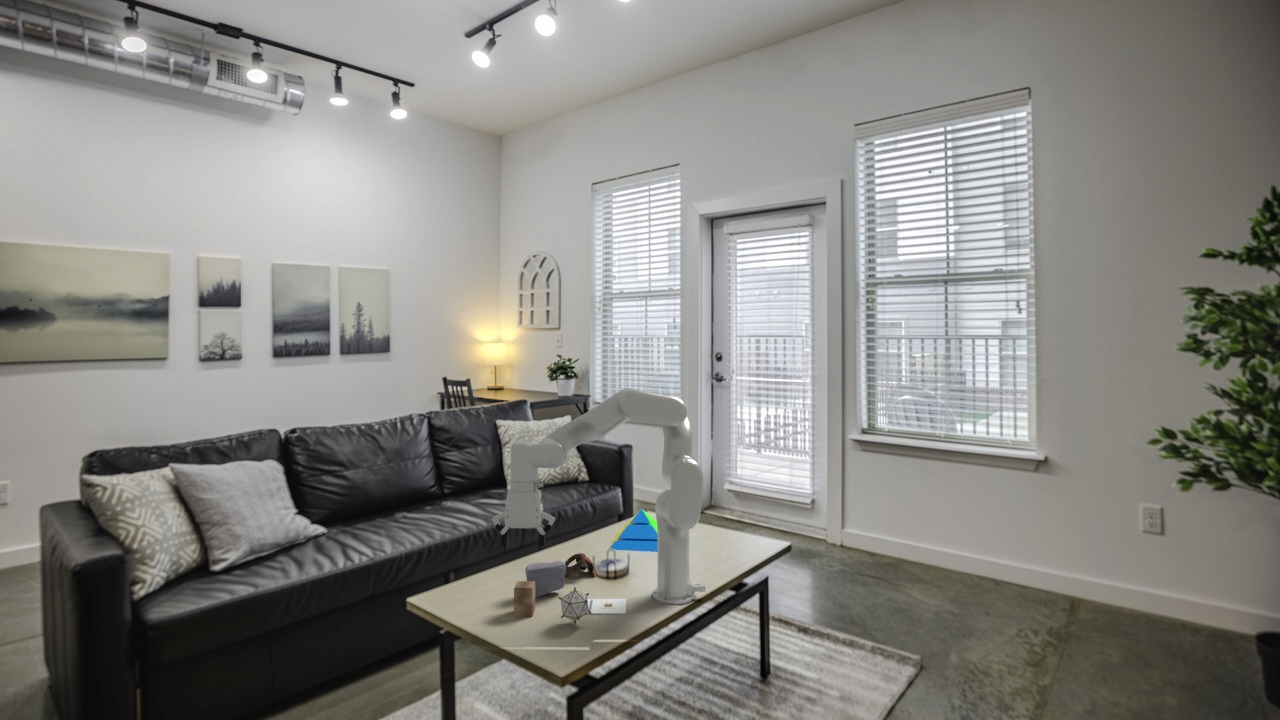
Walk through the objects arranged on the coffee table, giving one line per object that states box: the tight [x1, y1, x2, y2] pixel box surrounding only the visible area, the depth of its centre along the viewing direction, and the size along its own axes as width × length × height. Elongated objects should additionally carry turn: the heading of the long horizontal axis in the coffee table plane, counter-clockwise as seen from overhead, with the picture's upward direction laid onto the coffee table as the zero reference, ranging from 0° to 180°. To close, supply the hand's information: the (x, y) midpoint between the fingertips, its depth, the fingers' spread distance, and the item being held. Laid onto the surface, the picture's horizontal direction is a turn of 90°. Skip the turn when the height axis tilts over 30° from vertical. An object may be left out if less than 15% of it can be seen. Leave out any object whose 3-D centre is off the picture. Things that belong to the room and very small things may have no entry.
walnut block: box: [513, 580, 536, 618], centre depth 174 cm, size 5×5×8 cm
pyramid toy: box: [608, 508, 658, 553], centre depth 237 cm, size 25×25×14 cm
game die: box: [557, 586, 593, 624], centre depth 166 cm, size 9×8×10 cm
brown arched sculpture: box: [564, 552, 597, 578], centre depth 203 cm, size 12×9×8 cm
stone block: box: [524, 560, 566, 598], centre depth 186 cm, size 12×5×10 cm, turn 105°
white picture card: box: [586, 598, 627, 615], centre depth 178 cm, size 12×10×1 cm
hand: (523, 547), depth 173 cm, fingers open, 9 cm apart
